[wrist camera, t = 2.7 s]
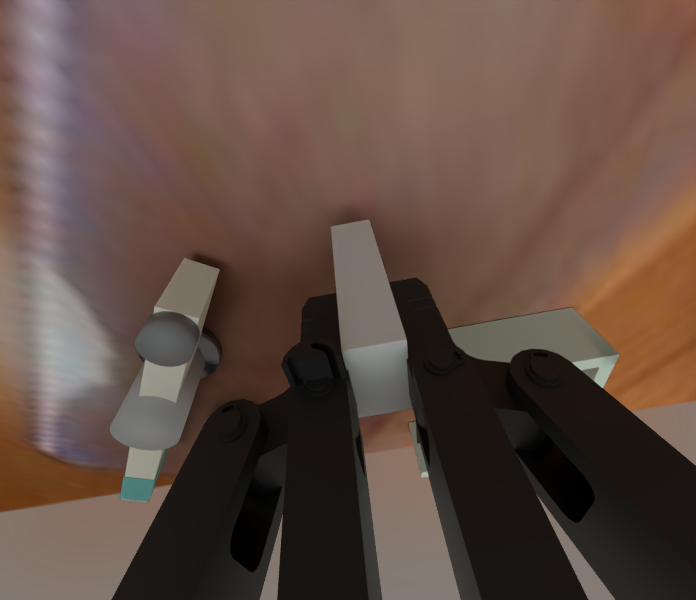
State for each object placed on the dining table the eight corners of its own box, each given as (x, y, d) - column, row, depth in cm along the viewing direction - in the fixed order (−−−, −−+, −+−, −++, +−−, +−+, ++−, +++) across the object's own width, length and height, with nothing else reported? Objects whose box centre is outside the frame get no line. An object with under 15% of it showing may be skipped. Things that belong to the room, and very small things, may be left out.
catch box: (409, 428, 27) (421, 477, 24) (400, 337, 21) (416, 389, 18) (539, 405, 27) (570, 453, 24) (572, 307, 21) (619, 354, 17)
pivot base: (166, 377, 21) (162, 385, 21) (127, 327, 19) (121, 336, 18) (232, 365, 21) (230, 373, 21) (202, 313, 18) (199, 321, 18)
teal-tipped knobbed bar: (133, 443, 24) (100, 516, 20) (168, 252, 15) (121, 318, 11) (177, 450, 25) (153, 520, 21) (234, 273, 16) (211, 341, 12)
